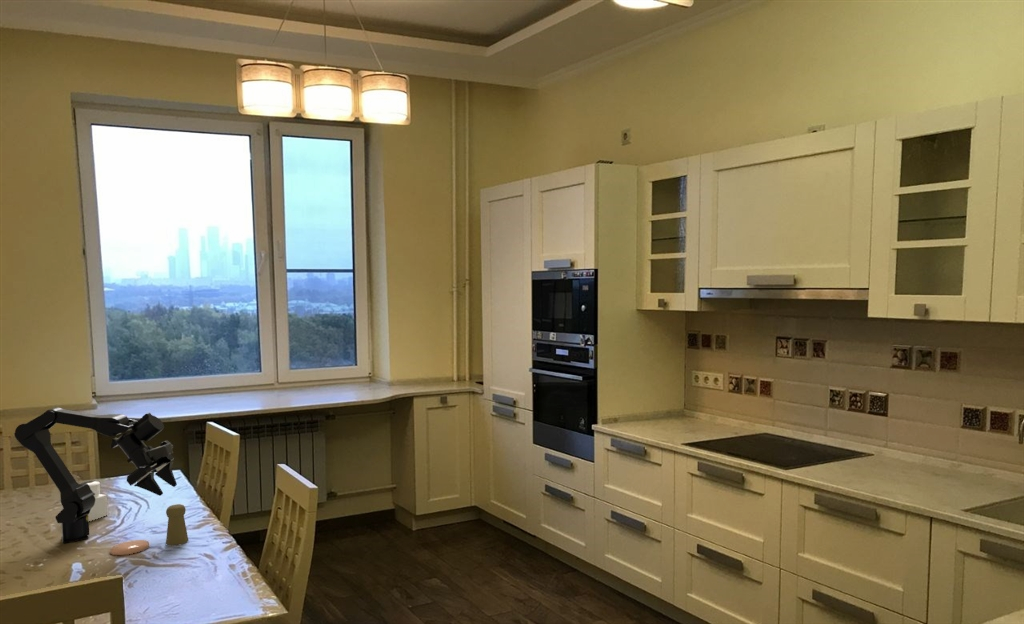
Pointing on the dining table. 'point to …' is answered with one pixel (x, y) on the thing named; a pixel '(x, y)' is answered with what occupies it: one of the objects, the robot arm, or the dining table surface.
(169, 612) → the dining table surface
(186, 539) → the cork
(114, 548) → the peach round disc
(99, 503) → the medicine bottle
